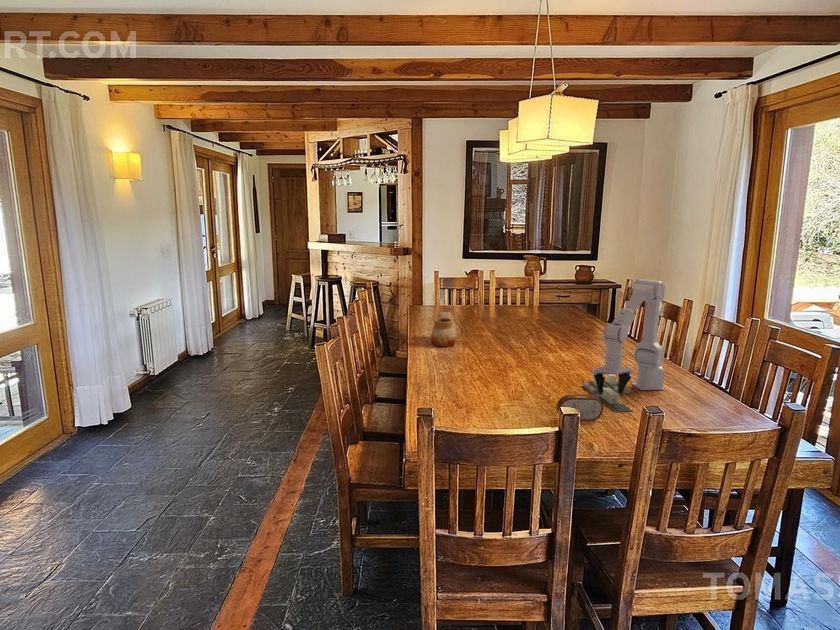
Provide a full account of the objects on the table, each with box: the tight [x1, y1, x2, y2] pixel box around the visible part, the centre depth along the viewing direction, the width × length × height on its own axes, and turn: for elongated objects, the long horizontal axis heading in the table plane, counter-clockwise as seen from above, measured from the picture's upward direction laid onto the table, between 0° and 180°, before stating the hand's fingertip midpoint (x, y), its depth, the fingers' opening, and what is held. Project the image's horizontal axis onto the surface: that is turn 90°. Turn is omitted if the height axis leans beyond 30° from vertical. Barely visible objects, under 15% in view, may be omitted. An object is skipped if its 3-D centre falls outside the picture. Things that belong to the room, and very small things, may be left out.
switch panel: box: [582, 379, 631, 395], centre depth 202 cm, size 15×9×2 cm, turn 95°
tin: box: [556, 394, 604, 422], centre depth 171 cm, size 15×3×8 cm, turn 92°
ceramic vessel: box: [430, 311, 459, 349], centre depth 274 cm, size 14×26×15 cm, turn 175°
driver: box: [601, 388, 623, 406], centre depth 187 cm, size 3×13×4 cm, turn 5°
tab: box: [606, 374, 618, 385], centre depth 204 cm, size 3×2×4 cm
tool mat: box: [592, 394, 634, 413], centre depth 188 cm, size 7×18×1 cm, turn 5°
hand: (610, 393), depth 189 cm, fingers open, 7 cm apart
